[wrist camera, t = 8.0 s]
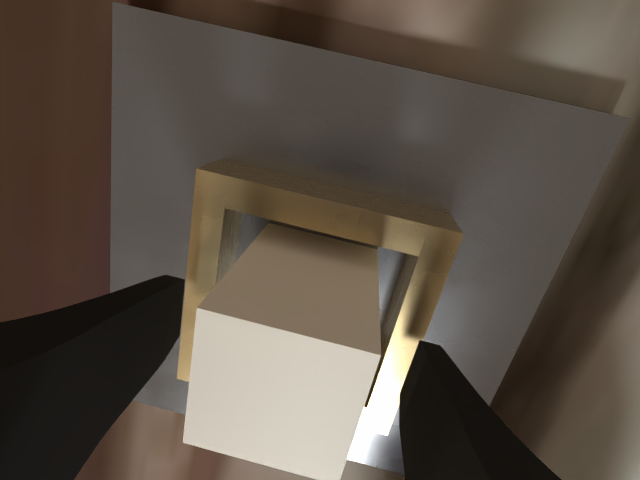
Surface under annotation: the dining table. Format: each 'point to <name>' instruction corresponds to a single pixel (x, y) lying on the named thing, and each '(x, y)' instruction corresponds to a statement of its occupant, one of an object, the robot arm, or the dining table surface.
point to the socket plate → (345, 190)
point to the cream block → (286, 353)
